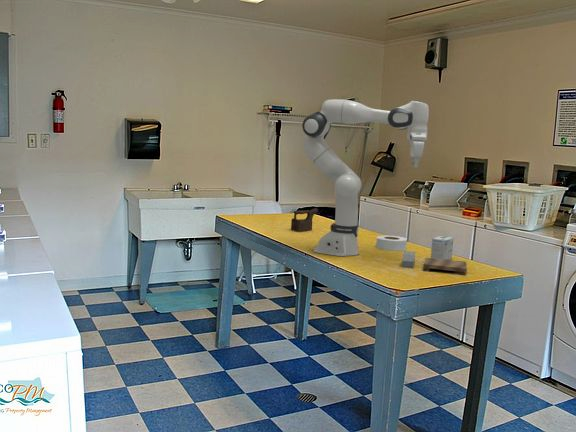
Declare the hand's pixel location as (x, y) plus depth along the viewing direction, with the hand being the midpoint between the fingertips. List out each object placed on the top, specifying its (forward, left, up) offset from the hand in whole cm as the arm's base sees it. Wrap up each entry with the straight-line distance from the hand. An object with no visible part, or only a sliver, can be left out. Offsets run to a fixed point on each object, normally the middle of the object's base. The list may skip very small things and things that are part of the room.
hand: (414, 166), depth 247 cm
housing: (+1, -11, -44) cm, 46 cm away
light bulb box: (+15, +10, -44) cm, 48 cm away
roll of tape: (-11, +26, -45) cm, 53 cm away
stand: (+17, -11, -44) cm, 49 cm away
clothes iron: (-66, +53, -44) cm, 96 cm away
